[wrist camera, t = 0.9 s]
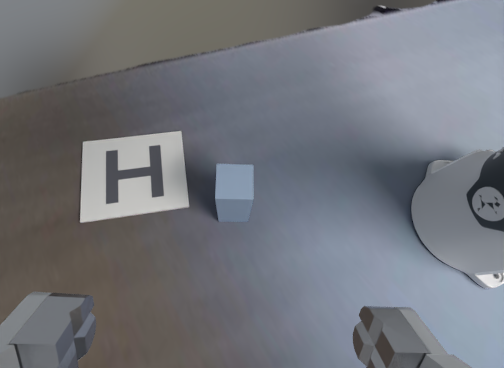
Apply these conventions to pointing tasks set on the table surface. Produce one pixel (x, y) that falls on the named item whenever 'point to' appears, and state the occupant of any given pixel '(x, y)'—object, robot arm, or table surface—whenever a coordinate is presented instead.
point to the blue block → (234, 192)
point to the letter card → (133, 176)
